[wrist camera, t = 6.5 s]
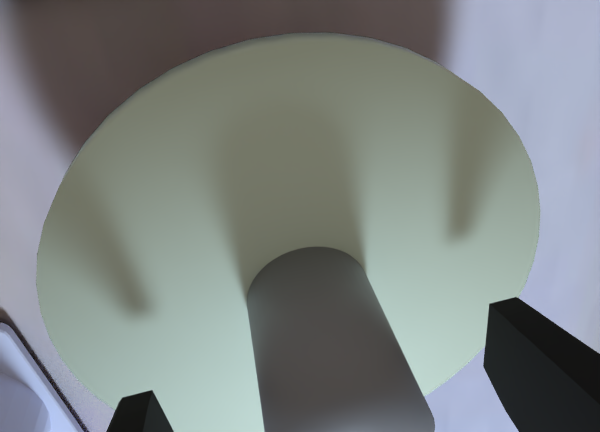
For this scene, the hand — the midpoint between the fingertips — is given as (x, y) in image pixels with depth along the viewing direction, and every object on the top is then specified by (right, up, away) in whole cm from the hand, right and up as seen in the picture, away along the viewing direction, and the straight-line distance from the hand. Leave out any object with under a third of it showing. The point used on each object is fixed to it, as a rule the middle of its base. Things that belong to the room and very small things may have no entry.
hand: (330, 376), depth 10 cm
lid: (-1, +2, +2) cm, 3 cm away
